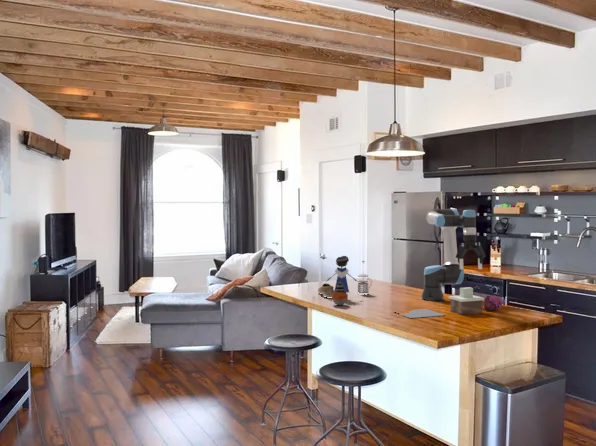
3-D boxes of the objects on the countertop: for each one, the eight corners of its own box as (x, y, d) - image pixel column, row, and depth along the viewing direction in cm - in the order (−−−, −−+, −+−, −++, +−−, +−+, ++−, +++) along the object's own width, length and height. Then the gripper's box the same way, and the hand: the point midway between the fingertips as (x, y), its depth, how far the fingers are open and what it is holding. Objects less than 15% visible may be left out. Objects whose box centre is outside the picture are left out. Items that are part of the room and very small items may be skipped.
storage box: (450, 311, 314) (450, 298, 314) (470, 309, 320) (470, 297, 319) (461, 314, 304) (461, 301, 304) (482, 313, 309) (482, 300, 309)
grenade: (347, 307, 329) (347, 283, 328) (331, 306, 331) (331, 283, 331) (348, 304, 340) (348, 281, 339) (333, 303, 342) (333, 281, 341)
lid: (448, 298, 315) (448, 287, 314) (470, 296, 320) (470, 285, 320) (461, 301, 303) (461, 290, 303) (484, 300, 309) (484, 288, 308)
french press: (360, 292, 386) (360, 259, 385) (374, 294, 379) (374, 260, 379) (354, 294, 378) (354, 260, 377) (368, 296, 371) (368, 261, 370)
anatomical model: (487, 311, 314) (510, 306, 315) (483, 295, 316) (506, 291, 317) (479, 312, 325) (501, 308, 327) (475, 297, 327) (497, 293, 329)
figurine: (357, 297, 364) (357, 255, 364) (358, 299, 355) (358, 256, 355) (325, 297, 367) (325, 255, 366) (325, 299, 358) (325, 256, 357)
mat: (392, 312, 312) (392, 311, 312) (425, 309, 321) (425, 308, 321) (410, 318, 293) (410, 317, 293) (445, 315, 302) (445, 314, 302)
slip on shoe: (316, 292, 390) (317, 280, 390) (331, 292, 390) (331, 280, 390) (320, 298, 360) (320, 286, 360) (336, 298, 361) (336, 286, 361)
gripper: (449, 235, 326) (450, 269, 324) (483, 233, 306) (484, 269, 304) (457, 236, 330) (458, 269, 328) (491, 233, 310) (492, 269, 308)
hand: (470, 269), depth 316 cm, fingers open, 13 cm apart
